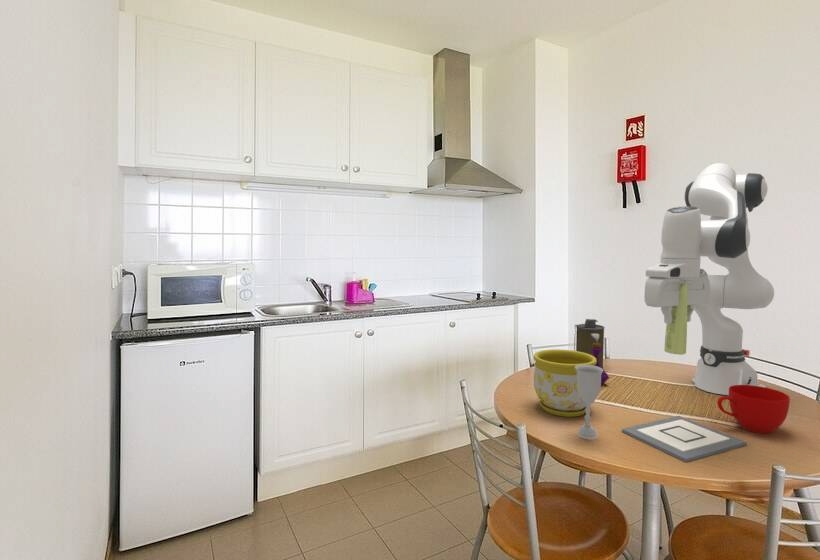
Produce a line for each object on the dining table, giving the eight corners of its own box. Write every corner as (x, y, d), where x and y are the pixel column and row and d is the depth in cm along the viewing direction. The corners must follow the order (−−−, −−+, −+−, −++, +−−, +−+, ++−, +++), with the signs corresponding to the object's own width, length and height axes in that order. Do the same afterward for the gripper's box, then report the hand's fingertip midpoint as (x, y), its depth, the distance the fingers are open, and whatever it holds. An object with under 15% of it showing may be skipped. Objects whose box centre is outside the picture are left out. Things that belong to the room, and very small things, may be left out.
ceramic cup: (702, 418, 127) (703, 384, 126) (762, 418, 126) (764, 384, 125) (733, 438, 114) (735, 401, 113) (801, 439, 113) (803, 401, 112)
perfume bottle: (609, 386, 155) (610, 336, 154) (587, 386, 155) (588, 336, 154) (600, 379, 163) (601, 331, 161) (579, 380, 163) (580, 331, 161)
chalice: (568, 430, 120) (570, 365, 119) (592, 428, 121) (594, 364, 119) (581, 442, 113) (583, 373, 111) (606, 440, 113) (608, 372, 112)
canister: (600, 366, 180) (602, 317, 178) (605, 373, 170) (607, 322, 168) (572, 365, 182) (573, 317, 181) (575, 372, 172) (576, 321, 171)
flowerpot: (571, 396, 146) (573, 347, 145) (608, 417, 129) (610, 361, 127) (522, 401, 142) (522, 351, 140) (553, 424, 124) (554, 366, 123)
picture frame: (679, 418, 127) (679, 414, 127) (746, 444, 110) (746, 440, 110) (621, 431, 119) (621, 427, 119) (685, 462, 102) (685, 457, 102)
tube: (692, 353, 115) (696, 279, 114) (682, 356, 113) (686, 279, 111) (669, 349, 120) (673, 277, 119) (660, 352, 117) (663, 278, 116)
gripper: (695, 268, 121) (693, 317, 122) (640, 269, 114) (638, 323, 115) (718, 269, 116) (716, 321, 117) (662, 271, 108) (660, 327, 109)
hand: (677, 322), depth 116 cm, fingers closed on tube, 5 cm apart
